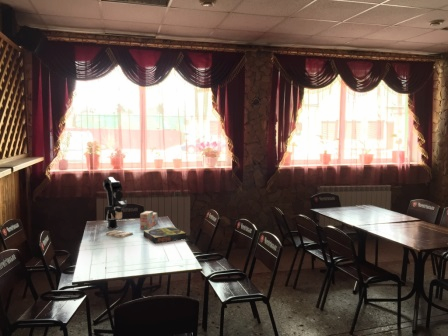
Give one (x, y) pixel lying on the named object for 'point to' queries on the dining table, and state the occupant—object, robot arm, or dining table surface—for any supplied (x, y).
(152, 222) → the stack of blocks
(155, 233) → the board game box
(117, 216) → the block
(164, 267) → the dining table surface
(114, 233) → the board
